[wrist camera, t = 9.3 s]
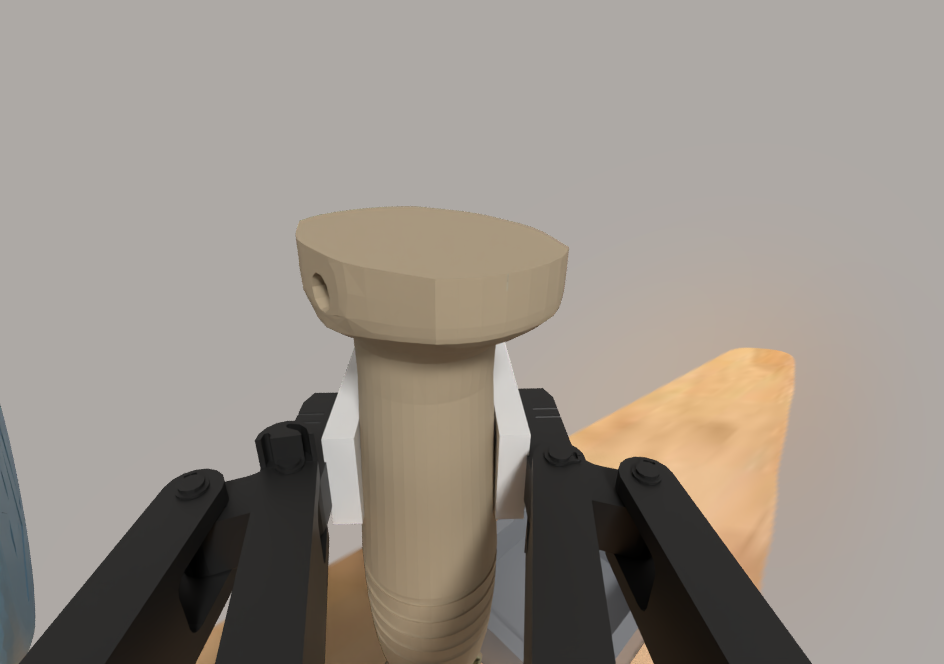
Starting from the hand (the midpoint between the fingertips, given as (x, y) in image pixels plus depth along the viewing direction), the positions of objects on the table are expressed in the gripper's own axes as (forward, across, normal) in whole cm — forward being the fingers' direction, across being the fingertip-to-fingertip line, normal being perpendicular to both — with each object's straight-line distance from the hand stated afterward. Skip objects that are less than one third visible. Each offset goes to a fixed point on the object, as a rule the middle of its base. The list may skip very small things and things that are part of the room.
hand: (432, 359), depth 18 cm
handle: (-5, 0, -9) cm, 11 cm away
